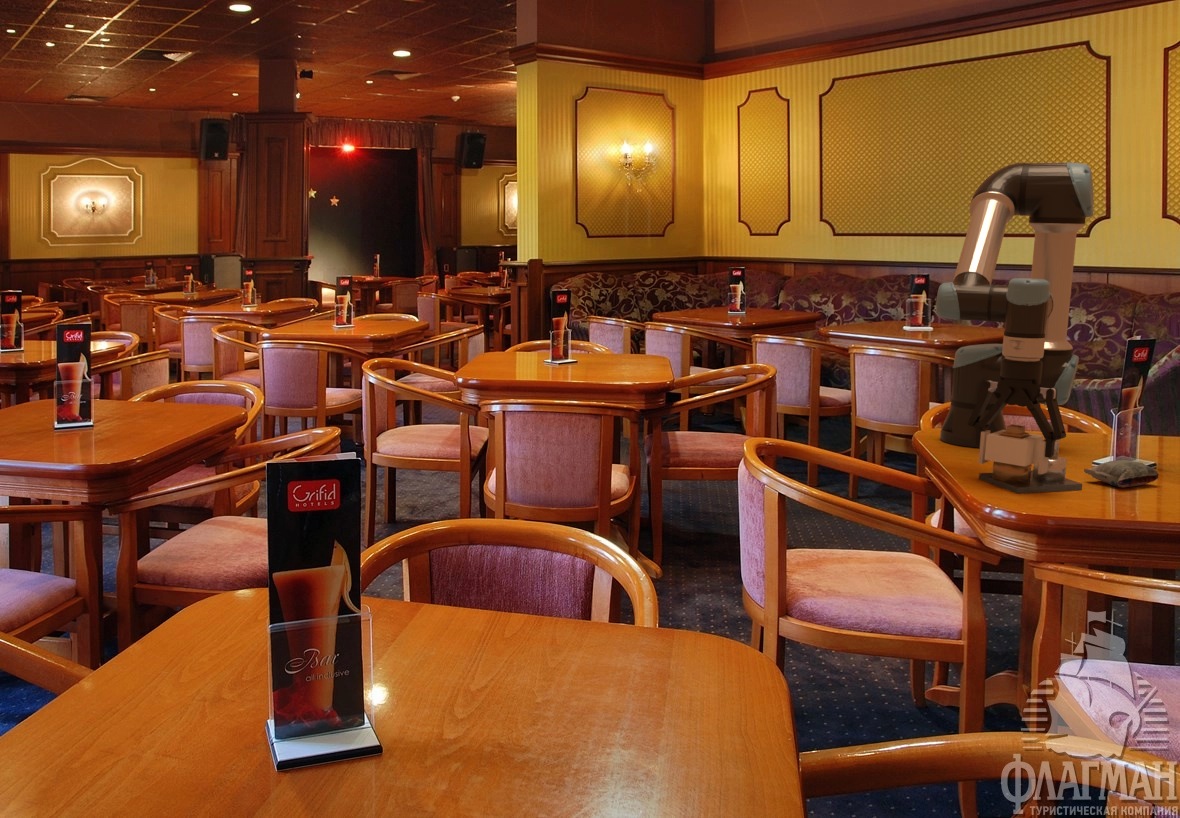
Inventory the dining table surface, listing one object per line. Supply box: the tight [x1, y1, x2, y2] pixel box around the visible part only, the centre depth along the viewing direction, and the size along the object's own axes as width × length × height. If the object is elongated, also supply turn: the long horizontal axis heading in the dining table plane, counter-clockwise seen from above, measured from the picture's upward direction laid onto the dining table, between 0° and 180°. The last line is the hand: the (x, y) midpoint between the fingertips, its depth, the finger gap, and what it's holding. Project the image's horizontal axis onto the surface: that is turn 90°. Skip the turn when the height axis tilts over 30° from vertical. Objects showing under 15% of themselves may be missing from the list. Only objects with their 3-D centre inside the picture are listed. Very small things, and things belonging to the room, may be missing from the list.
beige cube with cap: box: [985, 430, 1044, 467], centre depth 214 cm, size 8×8×5 cm
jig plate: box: [978, 469, 1084, 495], centre depth 216 cm, size 15×12×1 cm
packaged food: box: [1083, 459, 1159, 489], centre depth 218 cm, size 9×12×5 cm
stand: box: [1032, 421, 1068, 481], centre depth 216 cm, size 6×6×11 cm
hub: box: [992, 424, 1033, 484], centre depth 214 cm, size 7×7×11 cm
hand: (1012, 467), depth 214 cm, fingers open, 11 cm apart
